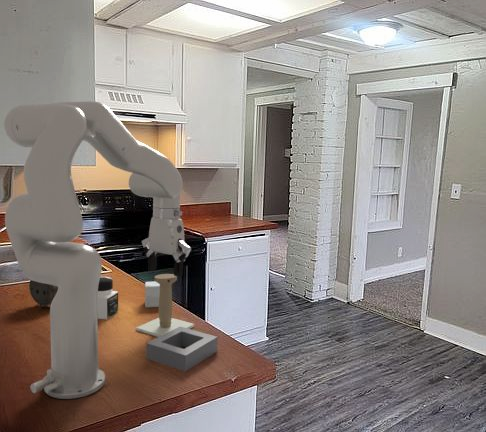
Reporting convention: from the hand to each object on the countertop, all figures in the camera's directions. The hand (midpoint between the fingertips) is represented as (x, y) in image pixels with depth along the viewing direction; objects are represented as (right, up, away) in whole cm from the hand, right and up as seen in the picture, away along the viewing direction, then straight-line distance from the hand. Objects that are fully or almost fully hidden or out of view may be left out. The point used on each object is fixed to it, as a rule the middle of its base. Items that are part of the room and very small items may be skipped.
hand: (165, 272), depth 129 cm
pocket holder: (+7, -19, -14) cm, 25 cm away
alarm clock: (-42, -14, +17) cm, 47 cm away
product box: (-8, -14, +23) cm, 28 cm away
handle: (0, -16, +3) cm, 16 cm away
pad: (0, -17, +3) cm, 17 cm away
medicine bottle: (-22, -15, +12) cm, 29 cm away
